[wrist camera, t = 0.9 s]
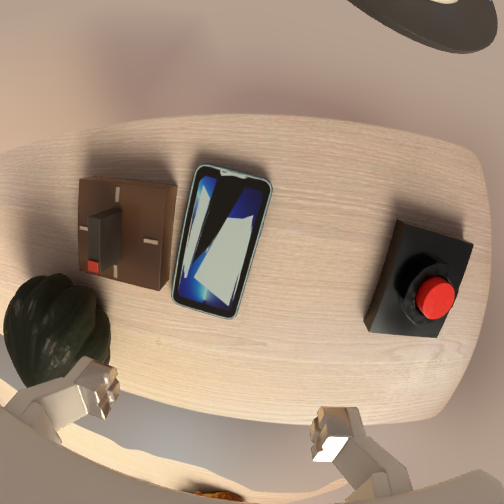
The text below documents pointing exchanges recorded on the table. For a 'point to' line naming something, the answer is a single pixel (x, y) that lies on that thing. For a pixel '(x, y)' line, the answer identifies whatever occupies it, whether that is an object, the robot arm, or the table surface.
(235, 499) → the seashell
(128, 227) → the dial panel
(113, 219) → the dial knob
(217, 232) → the smartphone
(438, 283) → the light button
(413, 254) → the switch box
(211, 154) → the table surface
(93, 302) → the squash
